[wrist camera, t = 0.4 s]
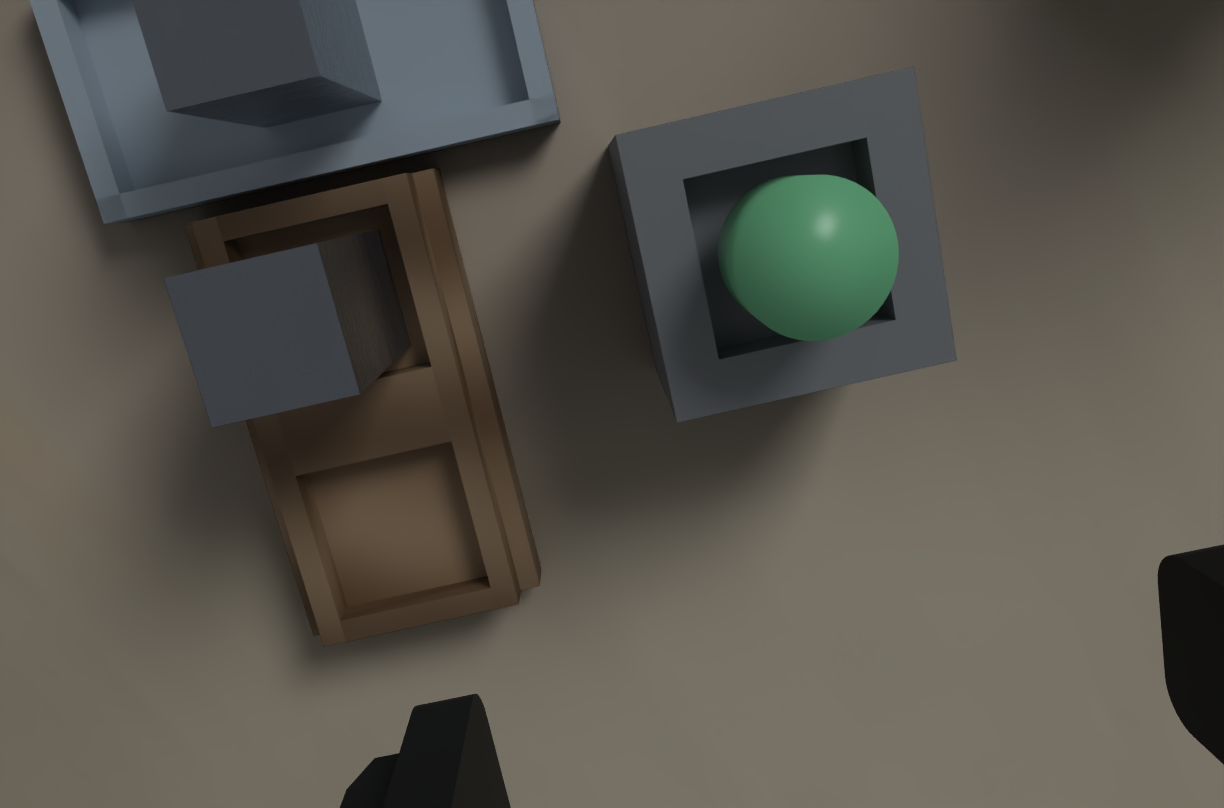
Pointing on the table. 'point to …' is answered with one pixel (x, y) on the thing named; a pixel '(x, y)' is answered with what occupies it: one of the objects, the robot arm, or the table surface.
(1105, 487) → the table surface
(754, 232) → the button
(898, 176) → the grey cube holder
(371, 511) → the tray
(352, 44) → the block
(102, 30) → the tray
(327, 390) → the seated billet
